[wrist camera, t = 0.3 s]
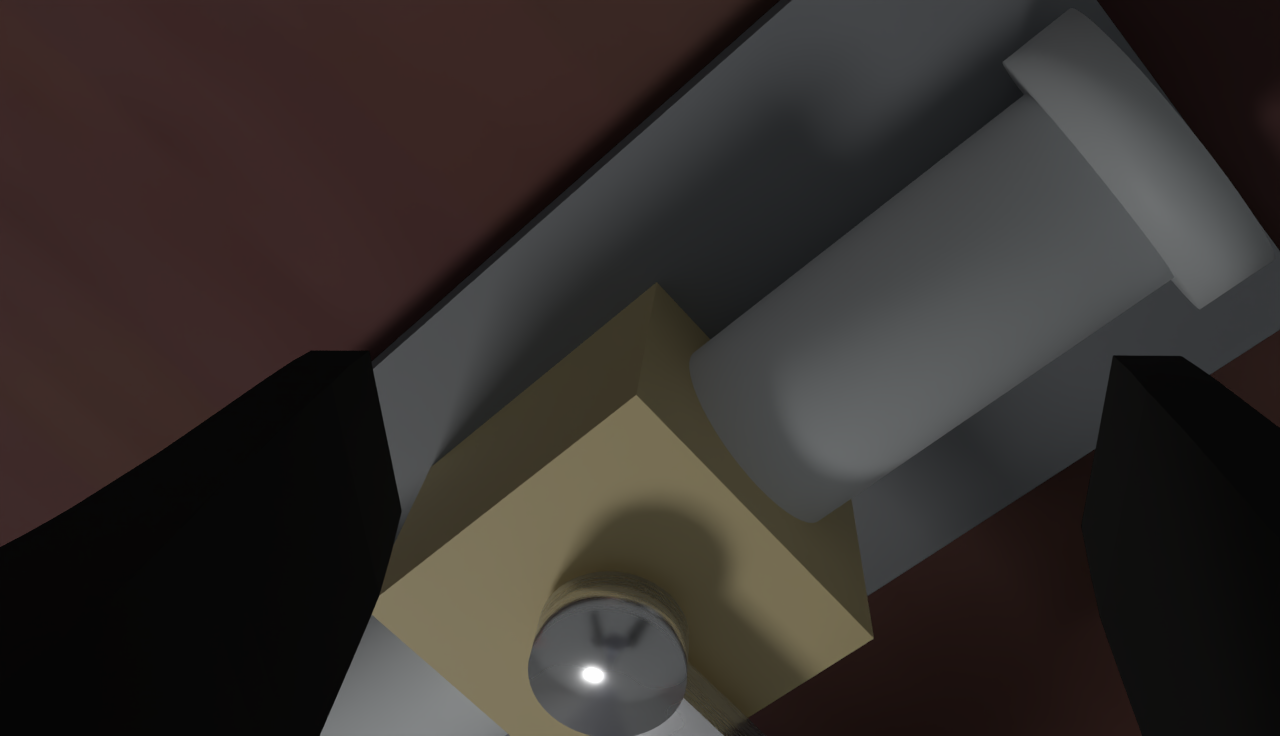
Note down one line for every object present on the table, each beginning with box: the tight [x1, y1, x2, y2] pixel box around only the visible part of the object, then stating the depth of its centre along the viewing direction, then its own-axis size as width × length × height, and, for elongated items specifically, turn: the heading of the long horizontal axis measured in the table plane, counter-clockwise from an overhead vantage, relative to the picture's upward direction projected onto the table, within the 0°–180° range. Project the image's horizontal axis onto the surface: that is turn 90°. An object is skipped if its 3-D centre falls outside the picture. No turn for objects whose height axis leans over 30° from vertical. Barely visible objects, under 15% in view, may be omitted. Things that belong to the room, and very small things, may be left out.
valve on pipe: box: [320, 0, 1280, 736], centre depth 21 cm, size 23×10×6 cm, turn 132°
